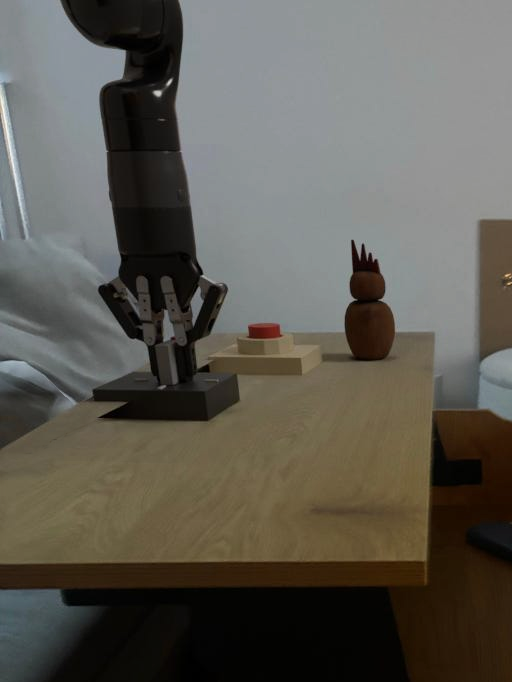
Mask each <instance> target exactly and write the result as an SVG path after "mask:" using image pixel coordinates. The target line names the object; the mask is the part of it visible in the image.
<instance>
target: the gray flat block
mask: <svg viewBox="0 0 512 682" xmlns="http://www.w3.org/2000/svg"><path fill="white" fill-rule="evenodd" d="M176 346H178V344H177V343H176V340H175V335H173V336H170V337H169V339H168V340H165V341H163V343H160V344H158V345H155V349H156V356H157V363H158V370H159V377H160V384H161V385H174V384H176V383H178V382H180V379H179V372H178V364H177V357H176V349H175V347H176Z"/></svg>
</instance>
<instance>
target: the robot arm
mask: <svg viewBox="0 0 512 682" xmlns="http://www.w3.org/2000/svg"><path fill="white" fill-rule="evenodd" d="M59 1H60V4H61V7H62V9H63V11H64V13H65V15H66V17H67V19H68V20H69V21H70V23H71V24H72V25H73V27H74V28H75V29H76V31H77V32H78V33H79V34H80V35H81V36H82V37H83V38H84V39H86V40H87V41H88V42H89V43H91V44H93V45H95V46H97V47H99V48H104V49H110V50H117V51H125V59H124V67H123V73H122V78H120V79H116V80H112V81H109V82H107V83H105V84H104V85H103V86H102V87H101V88H100V91H99V94H98V103H99V105H98V106H99V114H100V120H101V125H102V132H103V138H104V145H105V150H106V173H107V174H106V175H107V185H108V198H109V201H110V203H111V210H112V217H113V223H114V224H113V225H114V230H115V236H116V244H117V250H118V254H119V255H120V264H119V267H118V271H117V275H118V276H116V277H115V278H113V279H112V280H110V281H109V282H106V283H103V284H100V285H98V287H97V292H98V294H99V296H100V297H101V299H102V300H103V302H104V303H105V305H106V306H107V308H108V309H109V311H110V313H111V314H112V315H113V317H114V318H115V320H116V322H117V323H118V324H119V326H120V327H121V329H122V330H123V332H124V333H125V335H126V336H127V337H128V339H130V340H137V341H140V342H143V343H144V344H145V345H146V347H147V355H148V360H149V366H150V372H152V374H153V376H157V381H158V382H160V377H159V370H158V363H157V356H156V349H155V345H158V344H160V343H163V342H164V339H165V330H164V329H165V328H164V319H165V317H166V316H165V314H166V313H165V311H167V316H168V320H169V322H170V323H171V326H172V330H173V334H174V335H173V336H175V340H176V343H177V344H178V346H176V347H175V349H176V357H177V364H178V372H179V379H180V382H189V381H191V380H193V376H194V375H196V374H197V373H198V362H197V353H196V347H195V346H196V343H197V341H199V340H202V339H204V338H207V337H209V336H210V335H211V333H212V331H213V329H214V326H215V324H216V321H217V319H218V317H219V314H220V311H221V309H222V307H223V304H224V302H225V300H226V297H227V295H228V292H229V288H228V285H227V284H226V283H225V282H216V281H215V280H213V279H211V278H209V277H207V276H206V275H205V274H204V270H203V268H202V266H201V265H200V263H199V261H198V258H197V245H196V244H197V243H196V236H195V227H194V219H193V211H192V203H191V194H190V187H189V178H188V174H187V169H186V166H185V162H184V156H183V152H182V143H181V134H180V125H179V121H178V120H179V119H178V118H179V117H178V112H177V111H178V110H177V99H178V98H177V97H178V90H179V85H180V84H179V83H180V77H181V76H180V74H181V66H182V65H181V64H182V55H183V44H184V33H185V32H184V31H185V29H184V16H183V11H182V7H181V3H180V0H59ZM199 288H200V293H199V296H200V298H201V300H202V304H201V307H200V309H199V312H198V314H197V317H196V319H195V322H193V318H194V313H193V309H192V300H193V298H194V296H195V294H196V293H197V290H198V289H199ZM127 290H128V291H129V292H130V294H131V295H132V296H133V298H134V299H135V300H136V301H137V302H138V309H139V310H138V311H139V314H138V312H137V311H136V310H135V308H134V307H133V305H132V304H131V302H130V301H129V299H128V298H129V292H128V291H127Z"/></svg>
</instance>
